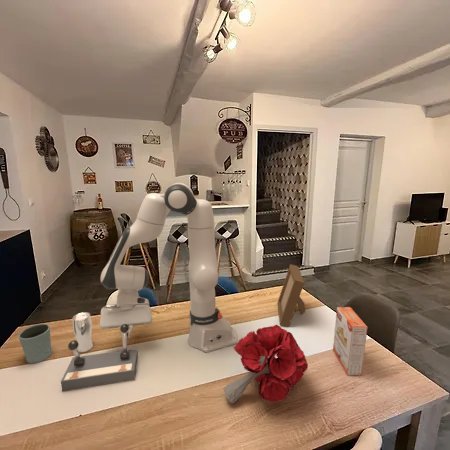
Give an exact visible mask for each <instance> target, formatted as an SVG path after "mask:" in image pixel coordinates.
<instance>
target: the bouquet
mask: <svg viewBox="0 0 450 450" xmlns="http://www.w3.org/2000/svg"><path fill="white" fill-rule="evenodd" d="M234 345H235V346H233V349H234V351H235V352H236V353H237V355H239V356H241V358H240V363H241V365H242V366H243V368H244V370H246V371H248V373H246V375H244V376H242V377H240V378H238V379H235V380H234V381H232V382H230V383H228V384H226V386H224V388H223V389H222V390H223V392H224V394H225V396H226V398H227V400H228V401H229V403H230V404H234V403H235V402H237V400H238V399H239V398H240V397H241V396H242V394H243V393H244V392H245V391H246V388H247V387H248V386H249V385H250V384H251V383H252V381H253V380H255V381H257V383H259V384H258V395H259V396H260V398H261V399H262V400H263V401H269V402H271V403H277V402H280V401H283V400H285V399H286V398H287V397H288V396H289V394H290V390H291V389H292V388H293V386H297V384H298V383H299V382H300V380H302V379H303V377H304V375H305V374H304V373H305V372H306V371H307V370H308V369H309V368H308V367H309V364H308V361H307V359H306V355H305V352H304V351H303V350H302V348H301V347H300V345H299V344H298V342H297V340H296V338H295V337H294V334H293V333H292V332H291V331H288V330H286V329H284V328H282V326H281V325H278V324H274V325H272V326H271V325H270V326H264V327H261V328H258V329H257V330H256V331H254V330H253V331H250V332H248V333H247V334H246V335H245V336H244V337H243V338H240V339H239V340H238V341H237V343H236V344H234Z"/></svg>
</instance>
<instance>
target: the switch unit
mask: <svg viewBox="0 0 450 450" xmlns="http://www.w3.org/2000/svg"><path fill="white" fill-rule="evenodd" d="M138 350H139V349H138V348H133V349H132V348H131V349H127V351H129V353H130V355H129V358H126V359H120V353H121V352H123V350H116V351H109V352H103V353H94V354H87V355H82V356H81V355H80V357H81V358H85V363H84V365H77V366H74V360H75V356H73V357H72V358H71V361H70V363H69V364H68V366H67V368H66V370H65V373H64V374H63V376H62V378H61V380H60V384H61V385H60V386H61V392H67V391H72V390H79V389H86V388H92V387H96V386H97V387H99V386H104V385H109V384H110V385H111V384H117V383H122V382H130V381H135V378H136V373H137V367H138V361H139V354H138V353H139V351H138Z"/></svg>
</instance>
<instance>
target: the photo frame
mask: <svg viewBox="0 0 450 450" xmlns="http://www.w3.org/2000/svg"><path fill="white" fill-rule="evenodd" d="M284 278H285V279H284V282H283V285H282V288H281V291H280V293H279V297H278V299H277V313H278V320H279V321H278V322H279V326H283V327H286V328H289V327H290V325H291V322H292V318H293V315H294V313H295V310H296V307H297V306H298V310H299V313H300V315H303V314H304V313H305V312H306V305H305V301H303V299H302V297H301V296H300V295H301V293H302V291H303V288H304V285H305V281H304V277H303V276H302V273H301V271H300V268H299V266H298V265H295V264H291V263H290V264H289V268H288V270H287V272H286V276H285V277H284Z"/></svg>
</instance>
